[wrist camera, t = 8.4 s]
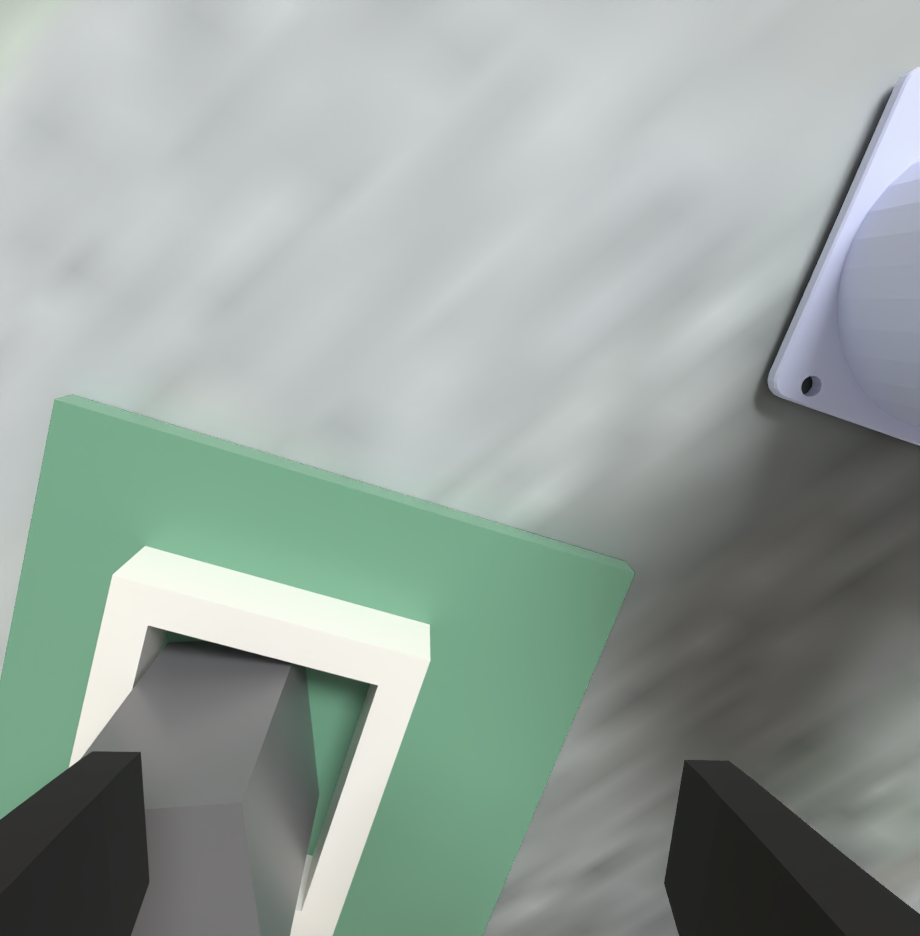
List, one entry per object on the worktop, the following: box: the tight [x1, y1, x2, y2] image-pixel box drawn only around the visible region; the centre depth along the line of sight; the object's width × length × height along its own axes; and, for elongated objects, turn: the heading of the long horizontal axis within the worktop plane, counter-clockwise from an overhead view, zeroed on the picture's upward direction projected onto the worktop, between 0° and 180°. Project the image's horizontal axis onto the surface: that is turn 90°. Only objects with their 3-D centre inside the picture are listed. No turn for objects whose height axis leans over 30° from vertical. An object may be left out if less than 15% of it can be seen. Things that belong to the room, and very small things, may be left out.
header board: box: [0, 395, 635, 936], centre depth 18 cm, size 15×15×3 cm
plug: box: [81, 640, 319, 936], centre depth 15 cm, size 4×6×6 cm, turn 2°
